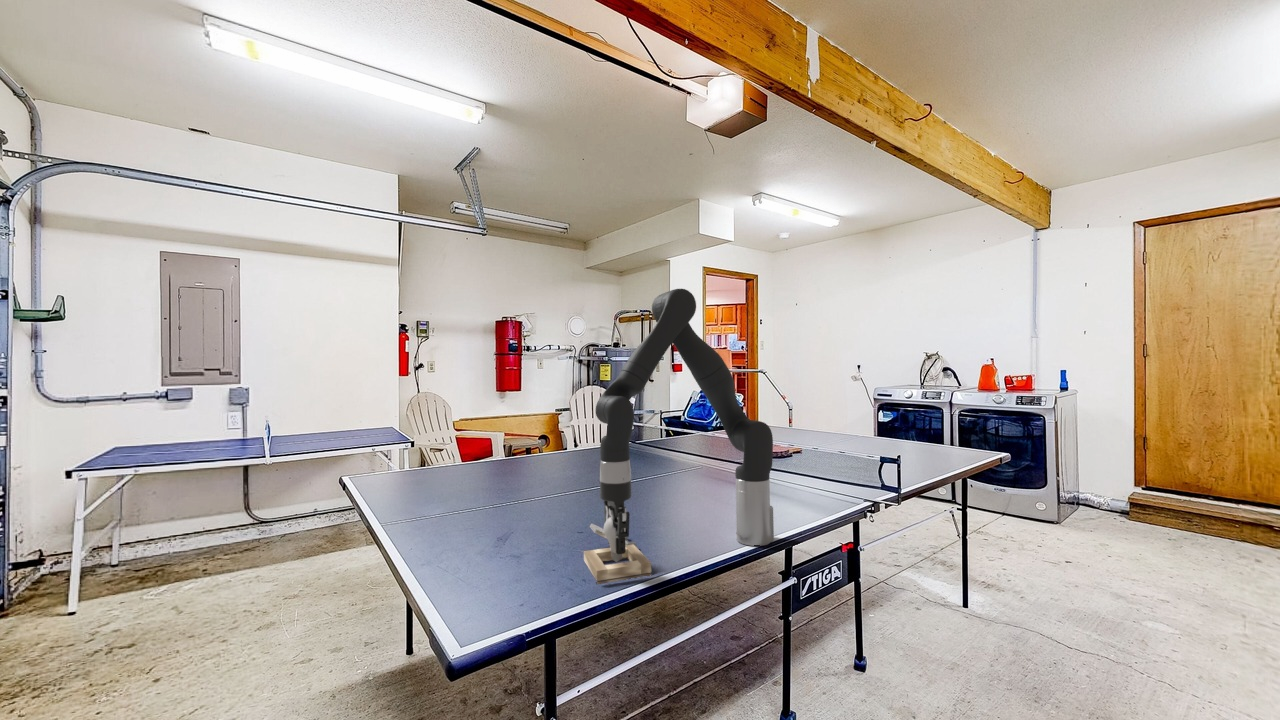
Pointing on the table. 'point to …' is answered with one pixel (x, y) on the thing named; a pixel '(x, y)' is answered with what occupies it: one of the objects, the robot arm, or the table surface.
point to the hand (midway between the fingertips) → (616, 548)
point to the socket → (617, 564)
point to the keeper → (602, 532)
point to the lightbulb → (612, 539)
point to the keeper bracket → (631, 542)
